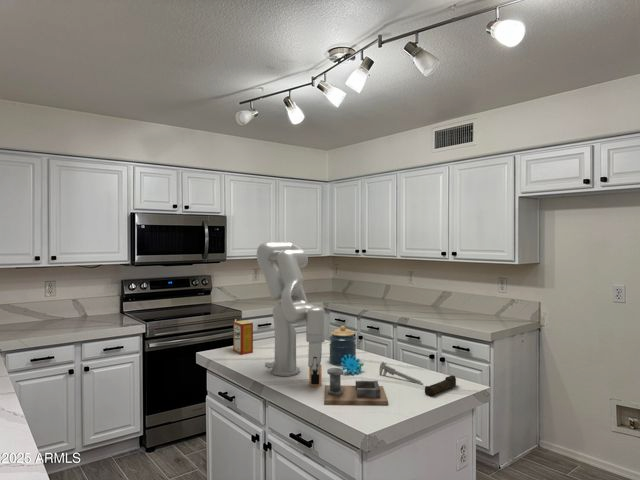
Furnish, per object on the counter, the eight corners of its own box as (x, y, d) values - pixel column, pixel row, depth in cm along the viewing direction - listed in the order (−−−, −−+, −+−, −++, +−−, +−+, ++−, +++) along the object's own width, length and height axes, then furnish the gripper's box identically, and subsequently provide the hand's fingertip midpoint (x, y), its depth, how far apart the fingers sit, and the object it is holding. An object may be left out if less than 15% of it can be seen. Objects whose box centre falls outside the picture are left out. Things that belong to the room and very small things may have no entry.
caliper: (379, 375, 193) (379, 361, 193) (380, 375, 194) (380, 360, 194) (422, 385, 181) (422, 370, 180) (423, 384, 181) (423, 369, 181)
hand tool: (432, 398, 166) (432, 386, 166) (424, 395, 169) (424, 383, 169) (461, 387, 178) (461, 376, 178) (453, 385, 181) (453, 373, 181)
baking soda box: (233, 350, 233) (233, 320, 233) (244, 349, 237) (244, 319, 237) (241, 354, 226) (241, 323, 225) (252, 352, 230) (252, 322, 229)
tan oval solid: (309, 386, 178) (309, 367, 178) (309, 382, 183) (309, 363, 183) (321, 386, 178) (321, 367, 178) (321, 382, 183) (321, 363, 183)
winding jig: (324, 404, 159) (324, 376, 159) (324, 389, 175) (325, 364, 175) (388, 405, 159) (388, 377, 159) (382, 389, 175) (382, 364, 174)
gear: (343, 373, 191) (339, 352, 198) (338, 379, 194) (335, 359, 201) (366, 374, 194) (362, 354, 201) (361, 380, 198) (357, 360, 205)
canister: (323, 361, 214) (323, 325, 213) (342, 356, 222) (342, 322, 222) (342, 367, 204) (342, 329, 204) (361, 362, 212) (361, 326, 212)
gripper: (307, 332, 189) (307, 375, 189) (305, 342, 172) (305, 388, 172) (325, 332, 189) (324, 375, 189) (324, 342, 172) (324, 389, 172)
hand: (315, 381), depth 180 cm, fingers closed on tan oval solid, 4 cm apart
